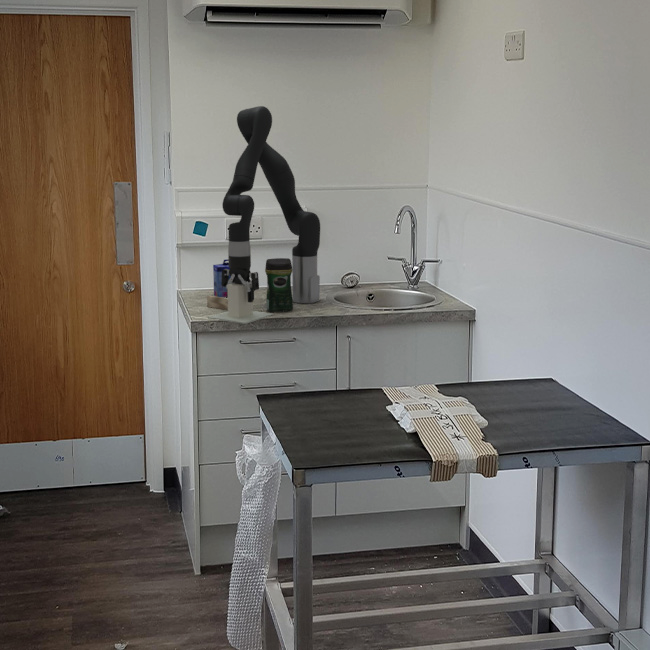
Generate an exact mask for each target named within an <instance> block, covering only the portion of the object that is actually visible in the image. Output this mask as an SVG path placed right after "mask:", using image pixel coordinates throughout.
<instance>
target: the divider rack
mask: <svg viewBox="0 0 650 650" xmlns="http://www.w3.org/2000/svg"><path fill="white" fill-rule="evenodd" d="M206 302H207V303H206V306H207V308H211V307H212V308H213V309H220V310H225V309H226V310H227V311H228V298H223V297H215V296H214V295H207V296H206ZM226 310H225V311H226Z"/></svg>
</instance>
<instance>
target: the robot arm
mask: <svg viewBox="0 0 650 650" xmlns="http://www.w3.org/2000/svg"><path fill="white" fill-rule="evenodd" d="M236 123H237V127H238V129H239V132H240V133H241V135H242V137H243V138H244V140H245V142H246V143H247V145H246V147H245V148H244V150H243V151H242V153H241V155H240V156H239V158H238V160H237V163H236V165H235V169H234V174H233V178H232V182H231V183H230V185H229V188H228V189H227V191H226V193H225V195H224V197H223V200H222V210H223V212H224V214H225V215H227V216H232V217H233V216H234V217H235V216H237V217H241V218H240V219H239V221H237V222H232V223H230V224H229V226H228V245H227V246H228V251H227V253H228V254H227V257H228V259H229V261H228V262H229V268H230V270H229V269H224V270H222V287H225V288H226V289H227V285H230V284H233V283H239V284H243V285H244V286H245V287H246V288H247V290H248V302H254V300H255V291H257V290H259V289H260V282H259V281H260V280H259V279H260V278H259V272H258V271H255V272H251V265H252V262H251V261H252V259H251V258H252V256H251V243H250V242H251V241H250V240H251V239H250V238H251V237H250V228H251V221H252V218H253V214H254V211H255V201H254V199H253V197H252V196H251V195H249V194H243V193H247V192H249V191H252V189H253V187H254V182H255V178H256V175H257V174H256V172H257V168H258V165H259V166H260V168H261V170H262V172H263V175H264V176H265V179H266V181H267V182H268V184H269V187H270V188H271V190H272V192H273V194H274V197H275V199H276V200H277V202H278V204H279V206H280V208H281V211H282V213H283V216H284V219H285V222H286V225H287V226H288V230H290V232H291V233H292V234H293V235H294V236H298V241H297V242H298V243H297V244H296V245H295V246H293V247H292V250H291V255H292V256H291V257H292V258H291V259H292V260H291V264H292V273H291V277H292V280H291V284H292V285H291V291H292V299H293V303H297V304H313V303H317V302H319V301H321V300H320V298H321V297H320V296H321V295H320V292H321V291H320V288H321V287H320V285H321V284H320V275H318V251H319V248H320V243H321V241H320V240H321V221H320V218H319V216H318V214H316V213H314V212H311V211H306V210H304V209H303V207H302V205H300V204H301V203H300V202H299V201H298V198H297V196H296V182H295V181H296V180H295V175H294V173H293V171H292V169H291V167H290V165H289V163H288V161H287V160H286V158H284V156H282V155H281V154H280V153H279V152H278V151H277V150H276V149H274V148H273V147H272V146H271V145H270V144H269V143H268V142H267V139H268V137H269V135H270V132H271V128H272V126H273V116H272V113H271V111H270V109H269V108H268V107H266V106H263V105H260V106H255V107H250V108H245V109H242V110H240V111H239V112H238V114H237V116H236ZM229 275H230V276H231V278H230V279H229ZM247 282H248V283H247ZM227 298H228V289H227Z"/></svg>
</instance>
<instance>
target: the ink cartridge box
mask: <svg viewBox="0 0 650 650" xmlns="http://www.w3.org/2000/svg"><path fill="white" fill-rule="evenodd" d="M212 268H213V296H215V297H223V298H225V297H227V289H226V288H225V287H222V270H224V269H229V270H230V268H229V259H223V262H222V263H218V264H212ZM230 278H231V276H230V275H229V279H230Z"/></svg>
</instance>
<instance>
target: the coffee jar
mask: <svg viewBox="0 0 650 650" xmlns="http://www.w3.org/2000/svg"><path fill="white" fill-rule="evenodd" d="M264 270H265V271H264V272H265V274H266V278H267V279H266V282H267V283H266V286H267V287H266V296H265V297H266V299H265V301H266V302H265V310H266V311H267V312H271V313H273V312H274V313H282V312H283V311H284V312H290V311H292V310H294V302H293V291H292V285H291V284H292V280H291V277H292V260H291V259H290V258H287V257H285V258H283V257H282V258H281V257H280V258H279V257H277V258H267V259H266V261H265V267H264Z"/></svg>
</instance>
